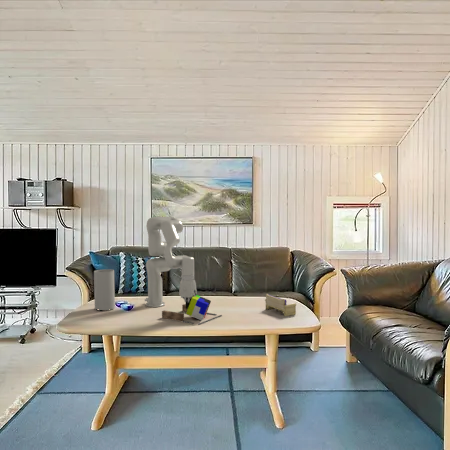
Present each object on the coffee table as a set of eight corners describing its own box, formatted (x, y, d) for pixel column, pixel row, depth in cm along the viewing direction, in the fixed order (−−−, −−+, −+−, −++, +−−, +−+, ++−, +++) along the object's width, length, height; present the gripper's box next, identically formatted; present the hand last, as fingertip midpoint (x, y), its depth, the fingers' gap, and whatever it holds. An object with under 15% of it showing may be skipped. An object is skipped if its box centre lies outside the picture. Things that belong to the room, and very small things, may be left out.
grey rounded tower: (113, 306, 269) (112, 268, 268) (116, 310, 258) (115, 271, 257) (93, 308, 263) (92, 270, 263) (96, 312, 252) (95, 272, 251)
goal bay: (182, 322, 228) (182, 321, 228) (205, 313, 247) (205, 312, 247) (199, 325, 221) (199, 324, 221) (221, 315, 240) (221, 315, 240)
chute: (162, 317, 237) (161, 311, 237) (184, 310, 255) (184, 304, 255) (181, 321, 229) (181, 314, 229) (203, 313, 247) (203, 306, 246)
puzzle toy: (201, 320, 230) (207, 304, 229) (185, 313, 232) (191, 298, 231) (205, 316, 240) (211, 300, 239) (190, 309, 241) (195, 294, 241)
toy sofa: (296, 314, 242) (296, 297, 242) (285, 316, 238) (285, 299, 238) (275, 307, 260) (275, 292, 260) (264, 309, 256) (264, 293, 256)
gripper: (174, 277, 239) (174, 308, 240) (194, 279, 231) (194, 311, 232) (182, 275, 246) (182, 305, 246) (201, 277, 237) (202, 308, 238)
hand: (188, 308), depth 239 cm, fingers closed
